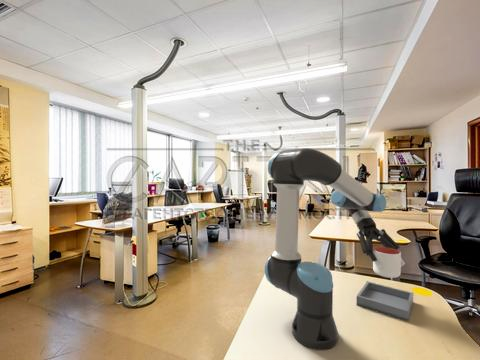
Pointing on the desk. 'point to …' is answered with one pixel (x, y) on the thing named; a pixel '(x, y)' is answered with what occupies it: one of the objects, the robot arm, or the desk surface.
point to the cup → (388, 262)
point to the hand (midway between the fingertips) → (392, 266)
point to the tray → (386, 300)
